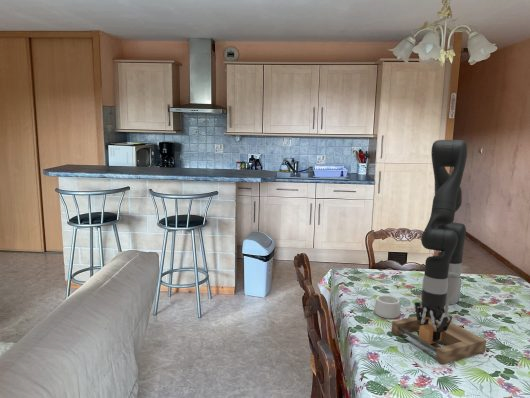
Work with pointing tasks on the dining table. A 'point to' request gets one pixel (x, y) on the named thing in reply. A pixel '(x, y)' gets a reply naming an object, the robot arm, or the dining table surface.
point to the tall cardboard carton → (427, 333)
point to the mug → (387, 306)
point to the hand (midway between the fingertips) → (430, 337)
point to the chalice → (451, 288)
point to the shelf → (444, 340)
